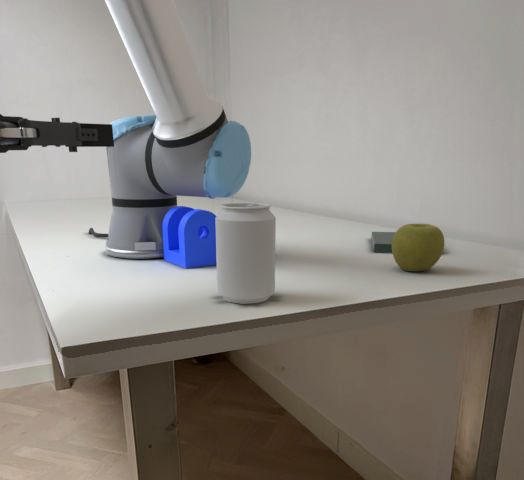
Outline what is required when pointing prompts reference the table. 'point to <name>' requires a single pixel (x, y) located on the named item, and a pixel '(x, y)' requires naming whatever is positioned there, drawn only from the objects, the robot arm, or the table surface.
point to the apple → (417, 246)
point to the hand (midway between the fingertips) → (109, 135)
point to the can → (245, 252)
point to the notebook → (382, 241)
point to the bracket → (189, 237)
